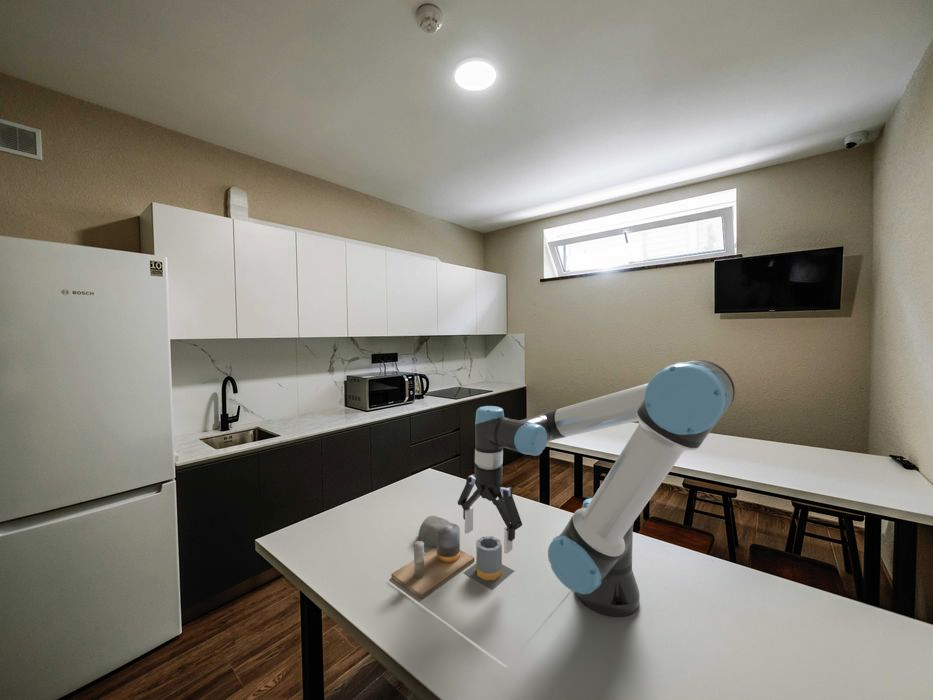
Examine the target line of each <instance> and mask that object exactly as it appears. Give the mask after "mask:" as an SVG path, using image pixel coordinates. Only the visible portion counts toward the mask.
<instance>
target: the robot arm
mask: <svg viewBox="0 0 933 700" xmlns="http://www.w3.org/2000/svg"><path fill="white" fill-rule="evenodd" d="M735 395H736V386H735V382H734V380H733V378H732V376H731V375H730V373H729V372H728V371H727V370H726V369H725V368H723V367H722V366H721V365H719V364H717V363H714V362H711V361H709V360H704V359H703V360H702V359H693V360H688V361H684V362H682V361H681V362H676V363H672V364H670V365H667V366H665V367H664V368H662V369H660V370H659V371H658V372H657V373H655V374H654V375H653V376H652V377H651V379H650V380H649V381H648V382H647V383H644V384H641V385H637V386H634V387H631V388H627V389H623V390H619V391H617V392H613V393H609V394H605V395H602V396H599V397H595V398H592V399H588V400H585V401H582V402H577V403H575V404H571V405H567V406H564V407H561V408H558V409H554V410H549V411H545V412H543V413H540V414H537V415H534V416H531V417H527V418H523V419H520V420H518V419H512V418H509V417H505V413H504V409H503V408H502V407H500V406H494V405H484V406H480V407H478V408H477V409H476V412H475V422H474V429H475V430H474V431H475V432H474V433H475V434H474V435H475V437H474V438H475V447H474V474H471V475H468V476H466V480H465V481H466V482H465V485H464V487H463V488H462V489H463V490H462V491H461V493H460V495H459V498H458V500H457V505H458V506H461V507H462V509H463V511H462V513H463V514H462V515H463V518H462V519H463V520H464V534H466V535H468V534H469V533H470V532H473V531H474V507H472V506H473V504H474V503H475V502H476V501H477V500H478V499H479V498H480V497H481V499H486V500H487V501H489V502H492V504H493V505H494V506H495V507H496V509H497V510H498V513H499V515H500V517H501V519H502V521H503V523H504V524H505V526H506V527H504V531H503V533H504V534H503V535H504V538H503V540H504V541H503V553H504V554H505V555H507V554H508V553H509V552H511V551H512V550H513V541H514V540H515V539H516V530H518V529H519V528H521V527H522V526H523V523H522V519H521V516H520V514H519V511H518V507H517V505H516V502H515V500H514V497H513V489H512V487H510V486H508V487H503V485H502V481H503V477H504V476H503V473H504V471H503V469H504V468H503V467H504V466H503V461H504V458H503V457H504V449H507V450H511V451H514V452H518V453H520V454H522V455H523V454H524V455H530V456H533V457H534V456H535V457H536V456H539V455H541V454H542V453H543V451H544V450H545V449H546V446H547V443H549V442H551V441H555V440H561V439H563V438H567V437H571V436H575V435H580V434H584V433H589V432H594V431H598V430H599V431H600V430H602V429H607V428H612V427H617V426H621V425H625V424H630V423H634V422H638V425H637V427H636V429H635V430H634V432H633V433H632V435H631V436H630V438H629V440H628V441H627V443H626V444H625V446H624V448H623V449H622V451H621V452H620V454H619V456H618V457H617V458H616V460H615V462H614V463H613V464H612V467H611V468H610V470H609V472H608V473H607V475H606V476H605V478H604V479H603V481H602V483H601V484H600V486H599V488H598V489H597V490H596V492H595V494H594V496H593V497H590V498H586V499H585V500H583V503H582V507H581V508H579V509H577V510H575V511H574V512H573V514H572V516H571V517H570V519H569V521H568V522H567V524H566V526H565V527H564V528H563V530H562V531H561V533H560V534H559V535H558V536H557V535H556V536H555V537H553V539H552V540H551V542H550V544H549V545H548V549H547V558H548V562H549V564H550V568H551V570H552V572H553V574H554V575H555V577H556V578H557V579H558V580H559V582H560V583H562V585H563V586H565V587H566V588H567V589H568V590H570V591H572V592H573V593H575V595H576V596H577V598H578V599H579V600H580V602H581V603H583V604H584V605H585V606H586V607H587V608H589V609H591V610H593V611H595V612H596V613H599V614H602V615H606V616H610V617H627V616H630V615H632V614H634V613H635V612H636V611H637V610H638V609H639V607H640V590H639V587H638V584H637V581H636V580H637V579H636V577H635V574H634V571H633V535H634V533H633V532H634V531H633V530H634V522H635V521H637V519H638V517H639V516H640V514H641V513H642V511H643V510H644V509H645V507H646V505H647V504H648V502H649V501H650V500H651V498H652V497H653V496H654V494H655V493H656V491H657V490H658V489H659V487H660V485H661V484H662V483H663V481H664V480H665V478H666V477H667V476H668V474H669V473H670V472H671V470H672V469H673V467H674V466H675V464H676V463H677V462H678V460H679V459H680V457H681V456H682V454H683V453H684V452H686V451H692V450H693V451H694V450H698V449H699V448H700V446H702V444H703V442H704V441H705V439H707V437H708V435H709V434H710V433H711V432H712V430H713V428H714V427H715V426H716V424H717V423H718V422H719V421H720V420H721V419H722V417H723V416H724V414H725V413H726V412H727V411H728V410H729V408H730V407H731V406H732V404H733V403H734V400H735ZM474 487H476V489H475V491H474V492H473V493H472V495H471V492H472V490H473V488H474ZM470 495H471V496H470Z"/></svg>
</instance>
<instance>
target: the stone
mask: <svg viewBox="0 0 933 700" xmlns="http://www.w3.org/2000/svg"><path fill="white" fill-rule="evenodd" d="M444 523H451V522H450V521H449V520H447V519H446V518H443V517H439V516H436V515H430V516H427V517H426V518H425V519H424V520H423V522H422V523H421V524H420V526H419V531H418V532H417V533H418V534H417V535H418V539H419V541H422V542H424V546H427V547H429V548H432V549H433V548H435V547H437V527H438V526H439V525H441V524H444Z"/></svg>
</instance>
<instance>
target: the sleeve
mask: <svg viewBox="0 0 933 700" xmlns="http://www.w3.org/2000/svg"><path fill="white" fill-rule="evenodd" d="M475 545H476V548H475V549H476V550H475V552H476V555H475V556H476V558H475V559H476V560H475V561H476V563H475V564H476V570H477V576H479V577H481V578H482V579H484V580H496V579H497V578H498V577H499V576H501V575H502V565H503V564H502V563H503V561H502V558H503V545H502V542H501V539H499V538H497V537H494V536H491V535H490V536H489V535H488V536H481V537H479V539H477V540H476V544H475Z"/></svg>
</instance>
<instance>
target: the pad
mask: <svg viewBox="0 0 933 700" xmlns="http://www.w3.org/2000/svg"><path fill="white" fill-rule="evenodd" d="M514 572H515V570H514V569H512V568H510V567H508V566H506V565H504V564H502V575H501V576H499V577H498V578H497V579H496V580H484V579H482V578H481V577H479V576H477V570H476V563H475V564H473V565H472V566H470V567H469V568H468V569H466V570H465V571H464V572H463V574H464V575H465V576H467V577H469V578H471V579H472V580H474V581H476V582H477V583H478V584H479V583H480V584H481V585H483V586H484V587H487V588H488V589H490V590H492V591H493V590H494V589H495V588H497V587H498V586H499V585H500V584H501V583H502V582H503V581H505V579H507V578H508V577H510V575H512V574H513V573H514Z"/></svg>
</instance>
